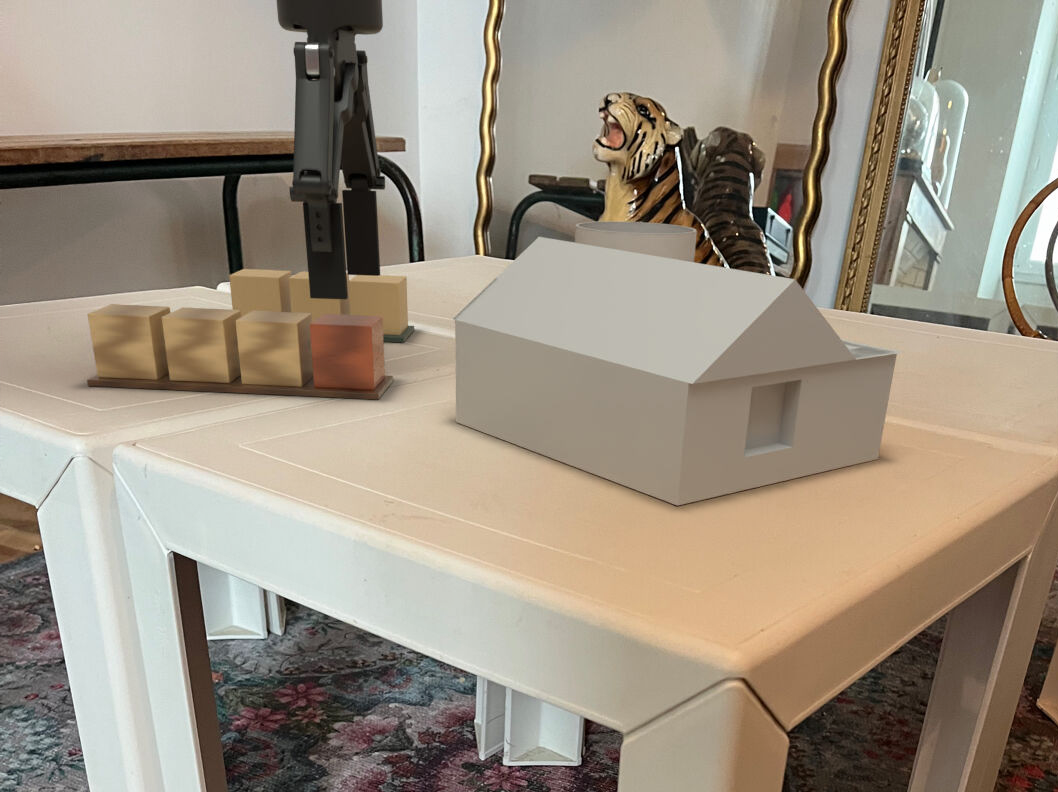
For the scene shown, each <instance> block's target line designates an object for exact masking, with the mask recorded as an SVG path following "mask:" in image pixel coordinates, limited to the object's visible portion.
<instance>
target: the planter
mask: <svg viewBox="0 0 1058 792" xmlns="http://www.w3.org/2000/svg"><path fill="white" fill-rule="evenodd" d="M574 227H575V228H574V243H580V244H586V245H592V246H598V247H604V248H610V249H616V250H622V251H628V252H634V253H640V254H646V255H652V256H658V257H664V258H670V259H676V260H682V261H688V262H694V263H695V256H696V255H695V254H696V244H697V232H698V231H697V229H696V228H693V227H689V226H684V225H679V224H678V225H677V224H670V223H669V224H668V223H657V222H644V221H643V222H642V221H618V220H617V221H608V220H607V221H605V220H604V221H585V222H579V223H576V224H575V226H574Z"/></svg>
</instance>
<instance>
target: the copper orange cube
mask: <svg viewBox="0 0 1058 792" xmlns="http://www.w3.org/2000/svg"><path fill="white" fill-rule="evenodd" d="M310 334H311V348H312V362H313V376H314V387H315V388H336V389H357V390H375V389H376V387H377V386H378V385H379V384H380V383H381V382H382V380H383V379H384V378H385V375H386V369H385V367H386V366H385V345H384V344H385V342H384V341H383V317H381V316H360V315H338V314H323V315H322V316H320V317H319V318H317V319H316V320H315V321H313V322H312V323H310Z"/></svg>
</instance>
